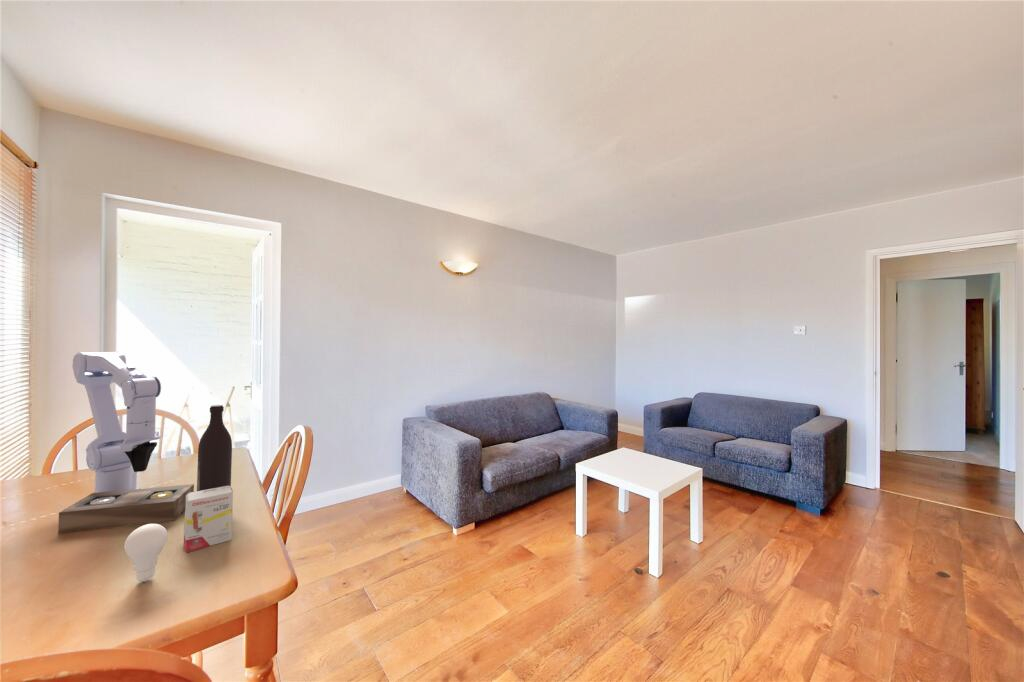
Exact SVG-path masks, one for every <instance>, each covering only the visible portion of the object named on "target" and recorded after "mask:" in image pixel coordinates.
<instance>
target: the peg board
mask: <svg viewBox="0 0 1024 682" xmlns="http://www.w3.org/2000/svg"><path fill="white" fill-rule="evenodd" d="M194 487H195V484H193V483H192V484H191V483H190V484H181V485H170V486H169V485H168V486H159V487H158V486H157V487H147V488H140V489H133V490H121V491H110V492H98V493H95V492H92V493H90V494H89V495H87V496H85V497H83V498H81V499H80V500H78V501H76V502H75V503H73V504H71V505H69V506H68V507H66V508H65V509H63V510H61V511H59V512H58V525H57V526H58V527H57V530H58V531H57V532H58V533H57V534H65V533H74V532H84V531H90V530H92V531H93V530H99V529H100V530H101V529H108V528H115V527H116V528H117V527H118V528H120V527H127V526H135V525H136V526H137V525H146V524H155V523H161V522H169V521H170V522H171V521H175V520H176V519H177V518H178V517H179V516H180V515H181V514H182V513H183V512H185V505H186V495H187V494H188V493H191V492H195V488H194ZM165 491H171V492H173V494H172V495H171V496H170V497H164V498H154V499H150V497H151V495H153V494H156V493H159V492H165ZM103 497H115V500H113V501H112V502H110V503H101V504H91V505H90V502H91V501H93V500H95V499H99V498H103Z"/></svg>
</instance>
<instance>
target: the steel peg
mask: <svg viewBox="0 0 1024 682" xmlns="http://www.w3.org/2000/svg"><path fill="white" fill-rule="evenodd" d="M113 500H115V497H103V498H99V499H95V500H93V501H91V502H90V505H91V504H101V503H110V502H112V501H113Z"/></svg>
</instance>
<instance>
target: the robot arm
mask: <svg viewBox="0 0 1024 682" xmlns="http://www.w3.org/2000/svg"><path fill="white" fill-rule="evenodd" d="M72 371H73V374H74V378H75V380H76V383H77V384H80V385H83V386H84V388H85V390H86V394H87V398H88V402H89V406H90V407H89V408H90V410H91V411H90V412H91V414H92V419H93V422H94V427H95V429H96V430H95V431H96V434H97V437H96V438H95V439H93V440H92V441H90V443H88V445H87V447H86V449H85V452H86V453H85V454H86V457H85V459H86V460H85V461H86V466H87V467H88V469H89V470H91V471H94V472H95V473H94V474H95V475H94V493H98V492H110V491H121V490H133V489H141V487H137V478H138V475H137V474H138V472H139V473H140V472H145V471H146V470H147V468H148V465H149V462H150V460H151V457H152V454H153V452H154V450H155V449H156V447H157V446H158V441H157V442H156V441H155V440H160V439H161V435H160V431H156V415H157V414H156V412H157V404H156V403H157V398H158V397H159V396H160V394H161V392H162V385H161V384H162V383H161V381H160V379H159V378H158V377H157V376H151V377H150V376H149V377H148V376H147V375H145V374H144V373H143V372H142V371H140V370H139V369H138V368H137V367H135V366H134V365H130V366H129V365H127V359H126V356H125V353H123V352H122V351H101V352H100V351H93V352H91V351H89V352H87V351H86V352H83V351H78V352H76V354H74V356H73V358H72ZM112 383H115V384H116V385H117V386H118V387H119V388H120V389H121V393H122V397H123V401H124V402H123V403H124V406H125V407H126V426H125V427H126V430H125V432H124V431H123V430H122V427H121V424H120V420H119V416H118V412H117V408H116V403H115V401H114V396H113V393H112V388H111V384H112ZM151 441H152V442H151ZM153 441H154V442H153Z"/></svg>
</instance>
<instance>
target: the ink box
mask: <svg viewBox="0 0 1024 682" xmlns="http://www.w3.org/2000/svg"><path fill="white" fill-rule="evenodd" d="M233 491H234V489H233V488H232V485H231V486H223V487H218V488H213V489H207V490H202V491H197V490H196V491H194V492H191V493H188V494H187V495H186V505H185V510H184V528H183V529H184V530H183V547H184V552H185V553H190V552H193V551H196V549H197V550H200V549H203V548H207V547H210V546H211V547H212V546H214V545H218V544H221V543H225V542H228V541H231V540H232V538H233V537H232V534H233V533H232V532H233V508H234V507H233V505H234V504H233V502H234V501H233V500H234V499H233V498H234V496H233V495H234V492H233Z"/></svg>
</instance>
